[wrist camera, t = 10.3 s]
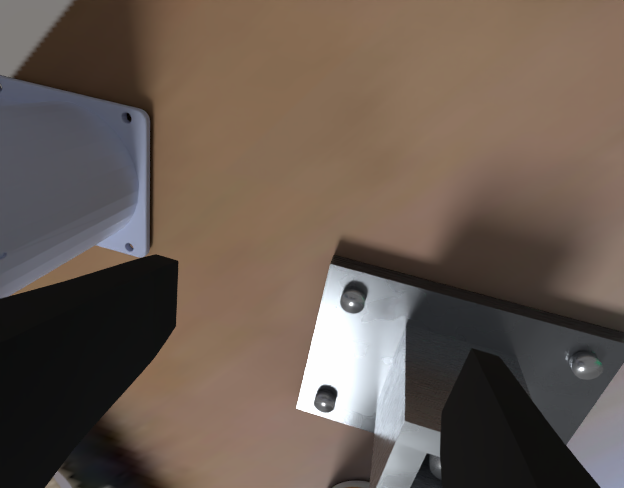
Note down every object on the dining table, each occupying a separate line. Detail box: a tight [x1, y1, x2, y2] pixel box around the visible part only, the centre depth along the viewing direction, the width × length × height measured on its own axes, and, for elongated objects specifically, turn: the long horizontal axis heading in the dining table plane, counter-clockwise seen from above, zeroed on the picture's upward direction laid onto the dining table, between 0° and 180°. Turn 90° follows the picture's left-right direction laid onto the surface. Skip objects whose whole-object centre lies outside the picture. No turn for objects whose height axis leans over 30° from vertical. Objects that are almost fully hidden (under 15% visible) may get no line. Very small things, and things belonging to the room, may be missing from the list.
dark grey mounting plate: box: [296, 255, 624, 480], centre depth 19 cm, size 14×10×6 cm
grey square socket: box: [369, 325, 532, 488], centre depth 18 cm, size 5×5×6 cm
